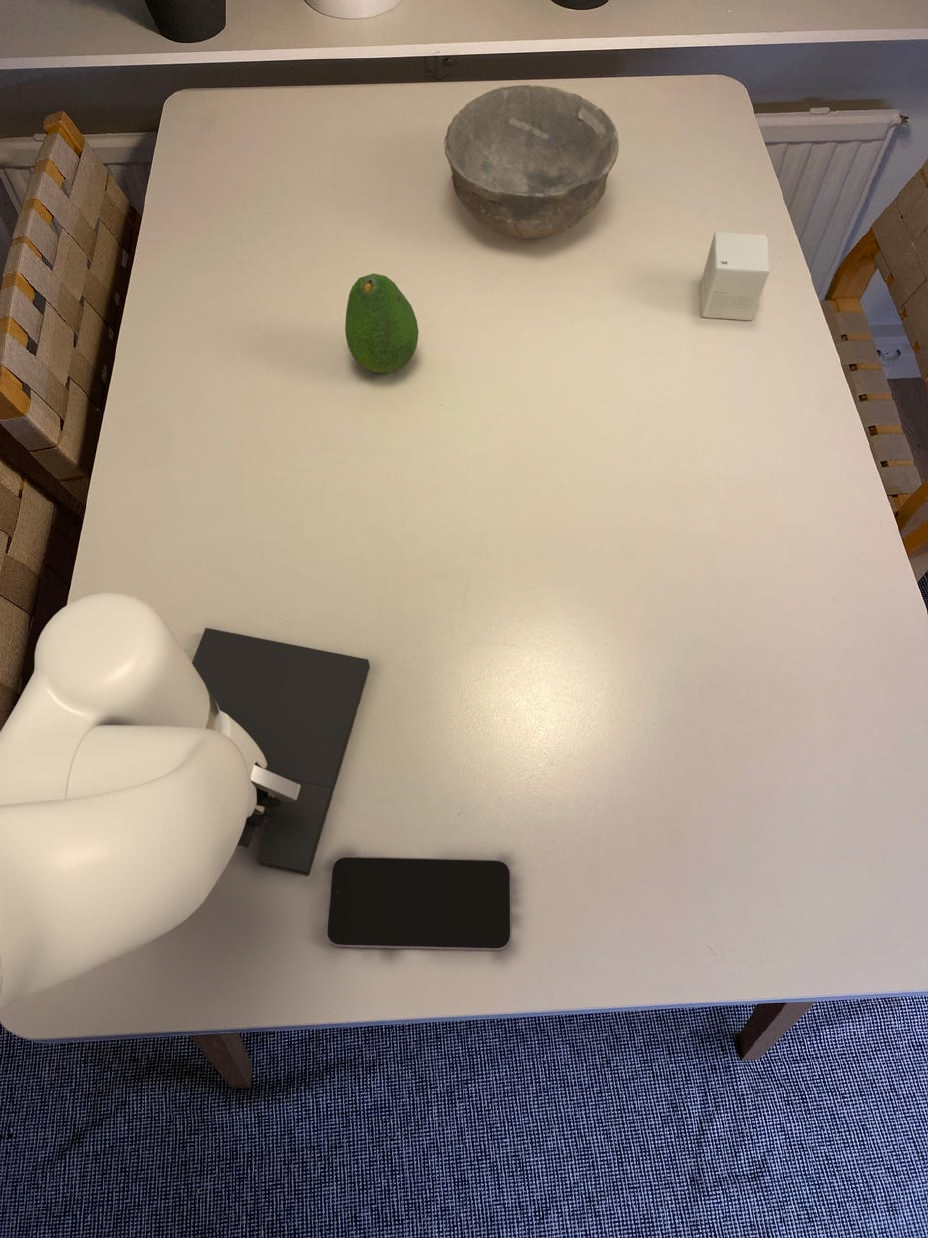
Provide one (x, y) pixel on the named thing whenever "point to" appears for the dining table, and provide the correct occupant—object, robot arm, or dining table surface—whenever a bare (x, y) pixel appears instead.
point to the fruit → (380, 325)
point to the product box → (734, 275)
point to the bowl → (530, 159)
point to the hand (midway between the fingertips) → (223, 800)
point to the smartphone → (419, 903)
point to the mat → (287, 725)
